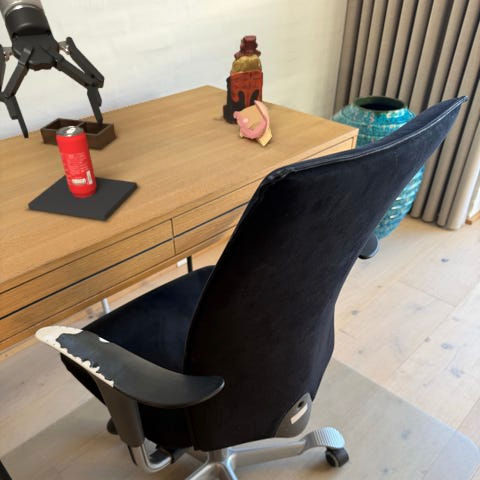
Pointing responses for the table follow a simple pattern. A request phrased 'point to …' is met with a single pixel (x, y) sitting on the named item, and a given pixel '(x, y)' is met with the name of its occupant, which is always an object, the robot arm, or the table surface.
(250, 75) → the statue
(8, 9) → the robot arm
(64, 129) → the beverage can
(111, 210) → the mat
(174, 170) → the table surface
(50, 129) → the divided desk organizer tray
